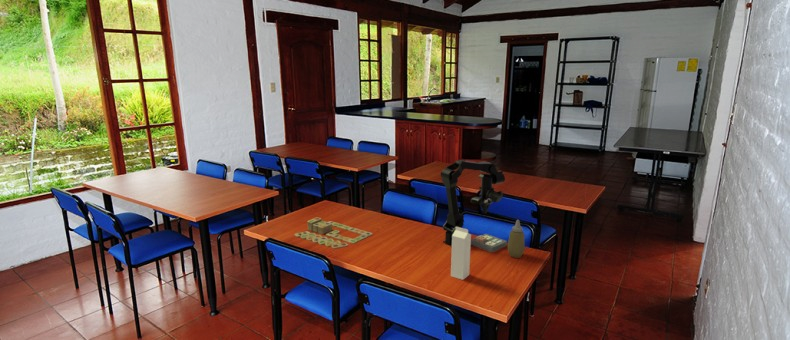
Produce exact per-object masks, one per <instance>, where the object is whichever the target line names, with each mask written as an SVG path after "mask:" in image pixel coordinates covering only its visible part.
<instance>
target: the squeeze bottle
mask: <svg viewBox="0 0 790 340" xmlns="http://www.w3.org/2000/svg"><path fill="white" fill-rule="evenodd" d="M520 222H521V221H520V220H519V219H517V220H515V224H514V225H513V226H512V227H511V228H512V229H511V230H510V231H509V236H508V241H507V246H506V247H507V251H508V255H509V256H510V257H512V258H516V259H517V258H521V257H522V256H523V254H524V252H525V248H526V247H525V232H524V231H523V227H522V226H521V223H520Z"/></svg>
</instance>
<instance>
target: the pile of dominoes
mask: <svg viewBox="0 0 790 340" xmlns="http://www.w3.org/2000/svg"><path fill="white" fill-rule="evenodd" d="M306 222H307V231H303V232H296V233H294V237H296V238H301V239H302V240H306V241H309V242H312V243H314V244H318V245H320V246H323V245H325V246H326V247H331V248H332V249H340V248H345V247H348V246H349V244H351V245H352V244H356V243H359V242H360V241H363V240H364V239H367V238H368V237H371V236H373V235H374V234H373V233H372V232H370V231H366V230H363V229H362V230H361V229H359V228H357V227H356V228H355V227H351V226H349V225H345V224H341V223H339V222H335V221H332V220H331V221H330V220H329V221H325V220H322V217H313V218H312V219H309V220H307V221H306ZM333 227H334V228H338V229H341V230H345V231H349V232H352V233H354V234H355V233H356V234H358V235H359V236H358V235H357V236H356V237H354V238H351V237H349V236H348V237H346V236H344V235H341V234H340V233H341V232H340V230H337V229H334V230H333ZM310 231H311V232H310ZM316 233H317V234H316ZM322 235H325V236H322ZM328 237H329V238H328ZM334 239H336V240H334ZM341 241H343V242H341ZM348 243H349V244H348Z"/></svg>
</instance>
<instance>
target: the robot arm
mask: <svg viewBox="0 0 790 340" xmlns="http://www.w3.org/2000/svg"><path fill="white" fill-rule="evenodd" d="M464 170H473V171H479V172H481V173H480V174H479V175H478V176H477V177H478V178H479V179H481V182H480V186H479V190H480V193H479V194H478V196H474V197H471V198H470V203H471V204H474V205H477V206H480V207H481V210H482V212H483V214H485V215H486V214H487V213H488V211H489V208H490V206H491V204H493V203H494V204H495V203H498V202H500V201H501V199H503V198H504V197H503V195H504V193H503V191H501V190H499V191H496V190H495V188H494V187H493V185H498V184H502V183H505V181H506V176H505V175H504V172H503V170H500V169H499V170H497V168H496V165H495V163H493V162H489V161H485V160H482V161H479V162H475V161H467V160H461V159H457V160H456V161H454V162H453V163H451V164H449V165H448V166H446V167H445V168H443V169H442V171H441V172H440V178H441V181H442V183H443V185H444V186H445V192H446V200H447V206H448V214H447V216H446V221H445V222H444V223H443V225H442V230H443V231H445V233H444V235H445V239H444V240H443V241H442V243H444V244H446V245H448V246H451V247H452V235H453V233H454V232H455V230H456V227H460V228H463V227H464V225H465V224H464V223H465V220H464V218H465V217H464V214H462V213H460V212H459V211H460V210H459V203H458V196H457V187H456V186H457V185H458V182H459V180H458V179H459V177H461V175H462V174H463V171H464Z"/></svg>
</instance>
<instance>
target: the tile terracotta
mask: <svg viewBox="0 0 790 340" xmlns="http://www.w3.org/2000/svg"><path fill="white" fill-rule="evenodd" d="M474 238H475V241H478V242H481V243H482V242H485V241H487V238H486V237H484V236H481V235H478V236H475V237H474Z"/></svg>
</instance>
